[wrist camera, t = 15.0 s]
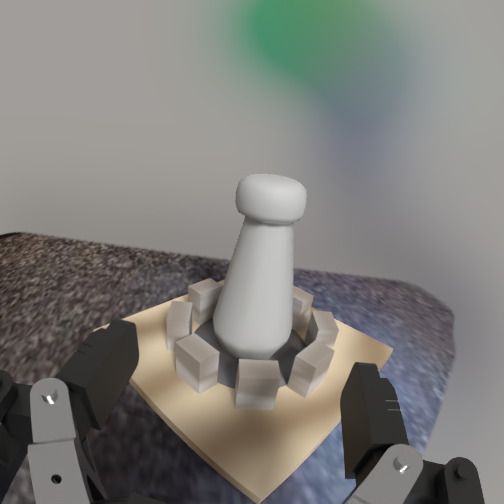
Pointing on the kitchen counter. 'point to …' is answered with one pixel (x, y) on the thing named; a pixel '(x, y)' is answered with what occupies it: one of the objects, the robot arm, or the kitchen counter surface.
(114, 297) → the kitchen counter surface
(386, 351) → the stonehenge model
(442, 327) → the kitchen counter surface
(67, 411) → the robot arm
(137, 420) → the kitchen counter surface
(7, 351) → the kitchen counter surface
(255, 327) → the salt shaker
